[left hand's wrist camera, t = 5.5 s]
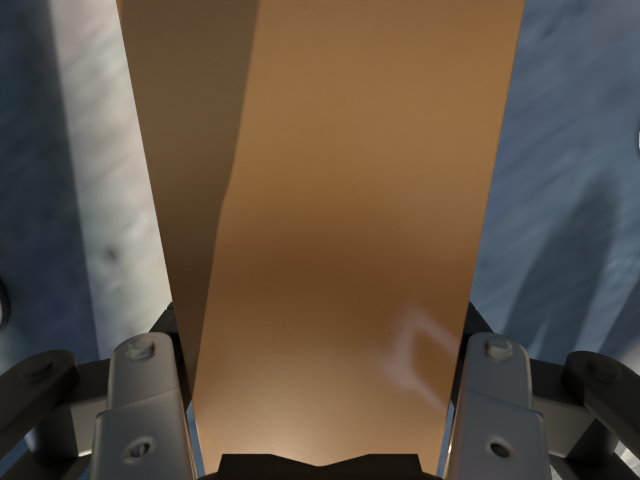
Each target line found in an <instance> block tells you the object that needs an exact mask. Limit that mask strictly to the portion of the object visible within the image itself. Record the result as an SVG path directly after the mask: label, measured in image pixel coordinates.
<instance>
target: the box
mask: <svg viewBox="0 0 640 480" xmlns="http://www.w3.org/2000/svg"><path fill="white" fill-rule="evenodd" d="M525 1H526V0H116V3H117V9H118V14H119V19H120V25H121V30H122V35H123V41H124V46H125V51H126V56H127V62H128V67H129V72H130V78H131V83H132V88H133V94H134V99H135V104H136V110H137V115H138V120H139V125H140V131H141V136H142V141H143V147H144V152H145V157H146V163H147V168H148V173H149V178H150V184H151V189H152V194H153V200H154V205H155V210H156V216H157V221H158V226H159V231H160V237H161V242H162V247H163V253H164V258H165V263H166V269H167V274H168V279H169V284H170V290H171V295H172V300H173V306H174V311H175V316H176V322H177V327H178V332H179V337H180V343H181V348H182V353H183V359H184V364H185V369H186V375H187V380H188V385H189V391H190V396H191V401H192V406H193V412H194V417H195V422H196V428H197V433H198V438H199V444H200V449H201V454H202V459H203V465H204V470H205V475H208V474H210V473H214V472H217V471H218V468H219V464H220V461H221V457H222V454H273V455H277V456H281V457H285V458H288V459H292V460H296V461H300V462H303V463H307V464H311V465H315V466H325V465H329V464H333V463H337V462H340V461H344V460H348V459H352V458H355V457H359V456H363V455H367V454H418V457H419V461H420V464H421V468H422V471H423V472H426V473H430V474H432V475H435V476H436V473H437V467H438V462H439V457H440V452H441V446H442V441H443V436H444V430H445V425H446V420H447V414H448V409H449V404H450V398H451V393H452V388H453V383H454V377H455V372H456V367H457V361H458V356H459V351H460V345H461V340H462V335H463V330H464V324H465V319H466V314H467V308H468V303H469V298H470V292H471V287H472V282H473V276H474V271H475V266H476V261H477V255H478V250H479V245H480V239H481V234H482V229H483V223H484V218H485V213H486V208H487V202H488V197H489V192H490V186H491V181H492V176H493V170H494V165H495V160H496V155H497V149H498V144H499V139H500V133H501V128H502V123H503V117H504V112H505V107H506V101H507V96H508V91H509V86H510V80H511V75H512V70H513V64H514V59H515V54H516V48H517V43H518V38H519V33H520V27H521V22H522V17H523V11H524V6H525Z"/></svg>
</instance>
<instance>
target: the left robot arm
mask: <svg viewBox="0 0 640 480" xmlns="http://www.w3.org/2000/svg"><path fill="white" fill-rule="evenodd" d="M8 318H9V302H8V298H7V295H6V292H5V290H4V288H3V286H2V285H1V283H0V332H1V331H2V330H3V328H4V327H5V325H6V324H7V321H8ZM190 402H191V396H190V391H189V385H188V380H187V375H186V369H185V364H184V359H183V353H182V348H181V343H180V337H179V332H178V327H177V322H176V316H175V311H174V306H173V301H172V302H171V303H170V304H169V306H168V307H167V310H165V311H164V312H163V314H162V315H161V316H160V318H159V319H158V320H157V322H156V323H155V324H154V326H153V327H152V328H151V330H150V331H149V332H148V333H143V334H139V335H136V336H134V337H131V338H129V339H127V340H126V341H124V342H122V343H121V344H120V345H118V346H117V347H116V348H115V350H114V351H113V353H112V354H111V358H109V359H105V360H100V361H95V362H91V363H86V364H81V365H77V363H76V360H75V357H74V355H73V353H71V352H70V351H67V350H52V351H46V352H43V353H39V354H36V355H34V356H31V357H29V358H27V359H25V360H23V361H21V362H19V363H18V364H16V365H15V366H13V367H12V368H10V369H9V370H8V371H6V372H5V373H4V374H2V375H1V376H0V460H1V459H2V458H3V457H4V456H5V455H6V454H7V453H8V452H9V451H10V450H11V449H12V448H13V447H14V446H15V445H16V444H17V443H18V442H19V441H20V440H21V439H22V438H23V437H24V439H25V441H26V443H27V445H28V447H29V449H28V450H27V451H26V452H25V453H24V454H23V455H22V456H21V457H20V458H19V459H18V460H17V462H16V463H15V464H14V465H13V466H12V467H11V468H10V469H9V470H8V471H7V472H6V473H5V474H4V475H3V476H2V477H1V478H0V480H78V478H79V477H80V476H81V474H82V473H83V472H84V470H85V469H86V468H87V467H88V465H89V464H90V467H89V476H88V480H552V476H551V467H550V464H551V465H552V466H553V468H554V469H555V470H556V472H557V473H558V474H559V476H560V477H561V478H562V480H640V478H639V477H638V476H637V475H636V474H635V473H634V472H633V471H632V470H631V469H630V468H629V467H628V466H627V465H626V464H625V463H624V462H623V460H622V459H621V458H620V457H619V456H618V455H617V454H616V453H615V452H614V450H615V448H616V446H617V444H618V442H619V440H620V441H621V442H622V443H623V444H624V445H625V446H626V447H627V448H628V449H629V450H630V451H631V452H632V453H633V454H634V455H635V456H636V457H637V458H638V459H639V460H640V376H639V375H638V374H636V373H635V372H634V371H632V370H631V369H630V368H628V367H627V366H625V365H624V364H622V363H620V362H619V361H617V360H615V359H612V358H610V357H608V356H605V355H602V354H599V353H595V352H590V351H575V352H572V353H570V354H569V355H568V356H567V359H566V362H565V364H564V366H563V365H558V364H553V363H549V362H544V361H539V360H535V359H531V358H529V354H528V353H527V351H526V350H525V348H524V347H523V346H522V345H520V344H519V343H518V342H516V341H514V340H513V339H511V338H509V337H506V336H504V335H501V334H497V333H494V332H493V331H492V329H491V328H490V327H489V325H488V324H487V323H486V322H485V320H484V319H483V318H482V316H481V315H480V314H479V312H478V311H477V310H475V307H474V306H473V304H472V303H471V302H470V300H469V303H468V308H467V314H466V319H465V324H464V330H463V335H462V340H461V345H460V351H459V356H458V361H457V367H456V372H455V377H454V383H453V388H452V393H451V398H450V402H452V403H453V406H454V408H455V410H454V415H453V420H452V426H451V431H450V437H449V443H448V449H447V455H446V460H445V466H444V472H443V478H440V477H438V476H435V475H432V474H430V473H426V472H423V471H422V468H421V464H420V461H419V457H418V454H367V455H363V456H359V457H355V458H352V459H348V460H344V461H340V462H337V463H333V464H329V465H325V466H315V465H311V464H307V463H303V462H300V461H296V460H292V459H288V458H285V457H281V456H277V455H273V454H222V457H221V461H220V464H219V468H218V471H217V472H214V473H210V474H208V475H205V476H202V477H200V478H197V472H196V466H195V460H194V455H193V449H192V443H191V437H190V431H189V425H188V420H187V415H186V411H187V408H188V406H189V404H190Z"/></svg>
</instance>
